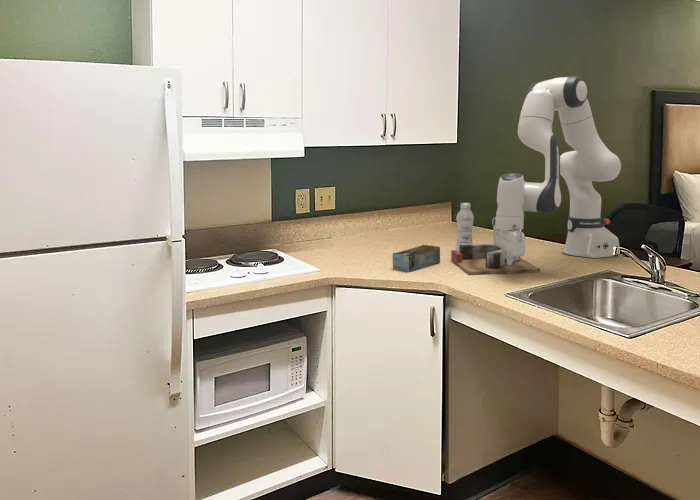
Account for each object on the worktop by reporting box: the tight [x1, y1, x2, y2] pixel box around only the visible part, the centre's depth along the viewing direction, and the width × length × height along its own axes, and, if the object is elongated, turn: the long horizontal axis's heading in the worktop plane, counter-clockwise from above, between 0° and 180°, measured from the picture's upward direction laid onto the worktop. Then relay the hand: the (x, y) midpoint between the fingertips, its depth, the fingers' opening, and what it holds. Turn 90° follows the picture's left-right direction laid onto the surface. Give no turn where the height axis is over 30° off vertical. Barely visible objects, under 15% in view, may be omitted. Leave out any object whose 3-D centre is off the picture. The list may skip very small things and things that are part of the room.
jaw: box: [486, 249, 521, 269], centre depth 221 cm, size 18×3×5 cm, turn 134°
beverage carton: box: [392, 244, 441, 273], centre depth 225 cm, size 8×19×7 cm, turn 137°
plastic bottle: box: [455, 202, 475, 252], centre depth 241 cm, size 6×7×20 cm
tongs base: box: [450, 243, 541, 276], centre depth 222 cm, size 25×22×8 cm
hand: (508, 263), depth 209 cm, fingers closed
